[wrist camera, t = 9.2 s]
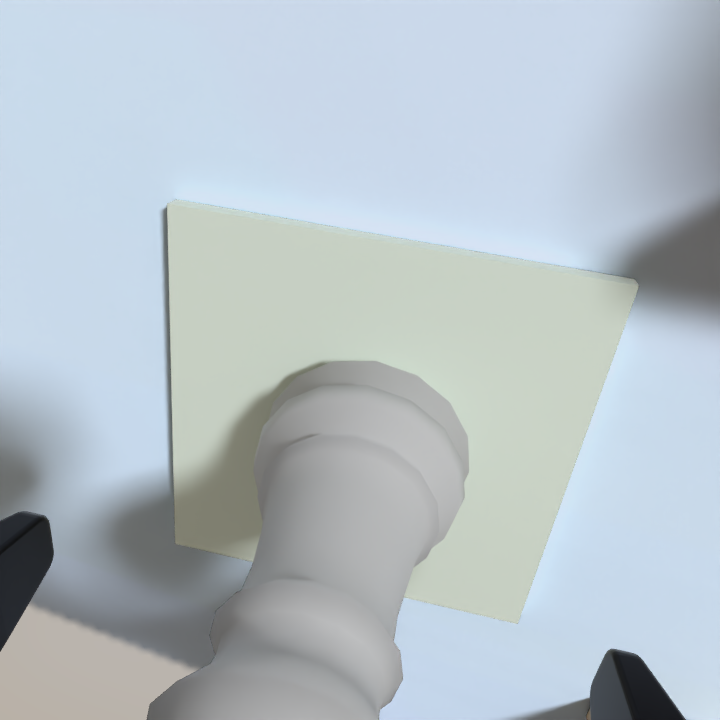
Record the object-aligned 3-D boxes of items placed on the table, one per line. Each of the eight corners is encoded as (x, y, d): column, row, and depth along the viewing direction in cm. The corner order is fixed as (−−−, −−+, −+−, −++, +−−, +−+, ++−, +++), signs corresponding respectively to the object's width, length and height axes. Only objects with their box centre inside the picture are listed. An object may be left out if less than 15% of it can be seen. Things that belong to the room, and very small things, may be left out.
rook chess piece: (308, 529, 15) (154, 949, 8) (242, 371, 13) (-29, 726, 6) (490, 507, 14) (499, 983, 7) (443, 329, 12) (388, 716, 5)
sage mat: (634, 278, 11) (639, 286, 11) (516, 611, 16) (517, 623, 15) (176, 199, 12) (167, 203, 12) (181, 533, 16) (175, 544, 16)
